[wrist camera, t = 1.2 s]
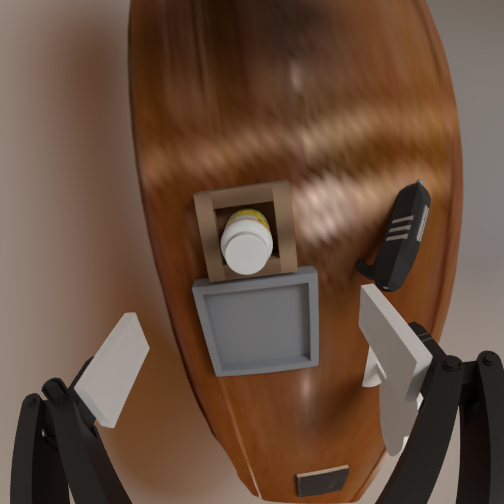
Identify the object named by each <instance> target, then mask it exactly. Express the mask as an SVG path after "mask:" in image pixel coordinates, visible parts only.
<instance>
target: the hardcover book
mask: <svg viewBox="0 0 504 504" xmlns="http://www.w3.org/2000/svg"><path fill="white" fill-rule="evenodd" d="M349 470H350V468H349V467H348V465H344V466H340V467H335V468H331V469H326V470H321V471H315V472H309V473H303V474H296V480H297V496H298V497H306V496H312V495H318V494H324V493H329V492H334V491H338V490H342V488H343V485H344V483H345V481H346V478H347V476H348V473H349Z"/></svg>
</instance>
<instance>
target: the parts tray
mask: <svg viewBox="0 0 504 504" xmlns="http://www.w3.org/2000/svg"><path fill="white" fill-rule="evenodd" d="M297 269H298V272H290V273H283V274H275V275H267V276H259V277H250V278H242V279H233V280H225V281H216V282H210V281H209V278H204V279H195V281H194V284H193V286H192V291H193V295H194V299H195V303H196V307H197V311H198V314H199V318H200V322H201V326H202V329H203V333H204V337H205V340H206V344H207V347H208V351H209V354H210V357H211V361H212V364H213V367H214V371H215V374H216V377H218V376H235V375H248V374H259V373H268V372H277V371H285V370H293V369H300V368H306V367H313V366H318V362H319V307H318V273H317V271H316V269H315V267H314V265H311V266H303V267H297Z"/></svg>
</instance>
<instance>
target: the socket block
mask: <svg viewBox="0 0 504 504" xmlns="http://www.w3.org/2000/svg"><path fill="white" fill-rule="evenodd" d="M193 196H194V202H195V208H196V214H197V219H198V225H199V230H200V235H201V241H202V246H203V251H204V256H205V261H206V266H207V271H208V276H209V281H210V282H216V281H225V280H233V279H242V278H250V277H259V276H267V275H275V274H283V273H290V272H298V269H297V256H296V244H295V232H294V222H293V211H292V201H291V192H290V183H289V181H287V180H283V181H274V182H265V183H257V184H249V185H242V186H235V187H228V188H221V189H215V190H208V191H202V192H197V193H195V194H194V195H193ZM269 201H273V209H274V217H275V226H276V235H277V244H278V252H272V253H271V255H270V257H269V259H268V260H267V261H266V264H265V265H264V267H263V268H262V269H261V270H260V271H258V272H256V273H254V274H250V275H243V274H239V273H237V272H235V271H233V270H232V269H231V268H230V267H229V266H228V264H227V262H226V259H225V258H224V256H223V254H222V250H221V235H220V229H219V223H218V217H217V210H216V209H217V208H224V207H231V206H238V205H246V204H253V203H261V202H269Z"/></svg>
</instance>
